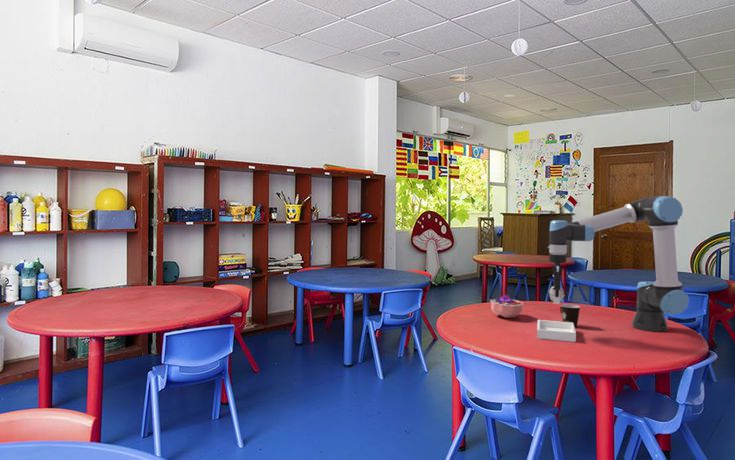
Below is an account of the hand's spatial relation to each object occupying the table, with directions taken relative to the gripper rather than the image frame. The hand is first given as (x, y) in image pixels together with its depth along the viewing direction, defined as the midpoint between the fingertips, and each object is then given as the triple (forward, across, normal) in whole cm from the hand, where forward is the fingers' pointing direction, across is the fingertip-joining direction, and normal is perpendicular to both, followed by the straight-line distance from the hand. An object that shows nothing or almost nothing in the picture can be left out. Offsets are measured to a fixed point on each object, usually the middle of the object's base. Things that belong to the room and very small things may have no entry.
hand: (556, 301), depth 226 cm
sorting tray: (+15, 0, 0) cm, 15 cm away
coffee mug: (+15, -22, +7) cm, 28 cm away
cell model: (+16, -30, -24) cm, 41 cm away
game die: (0, 0, 0) cm, 0 cm away
